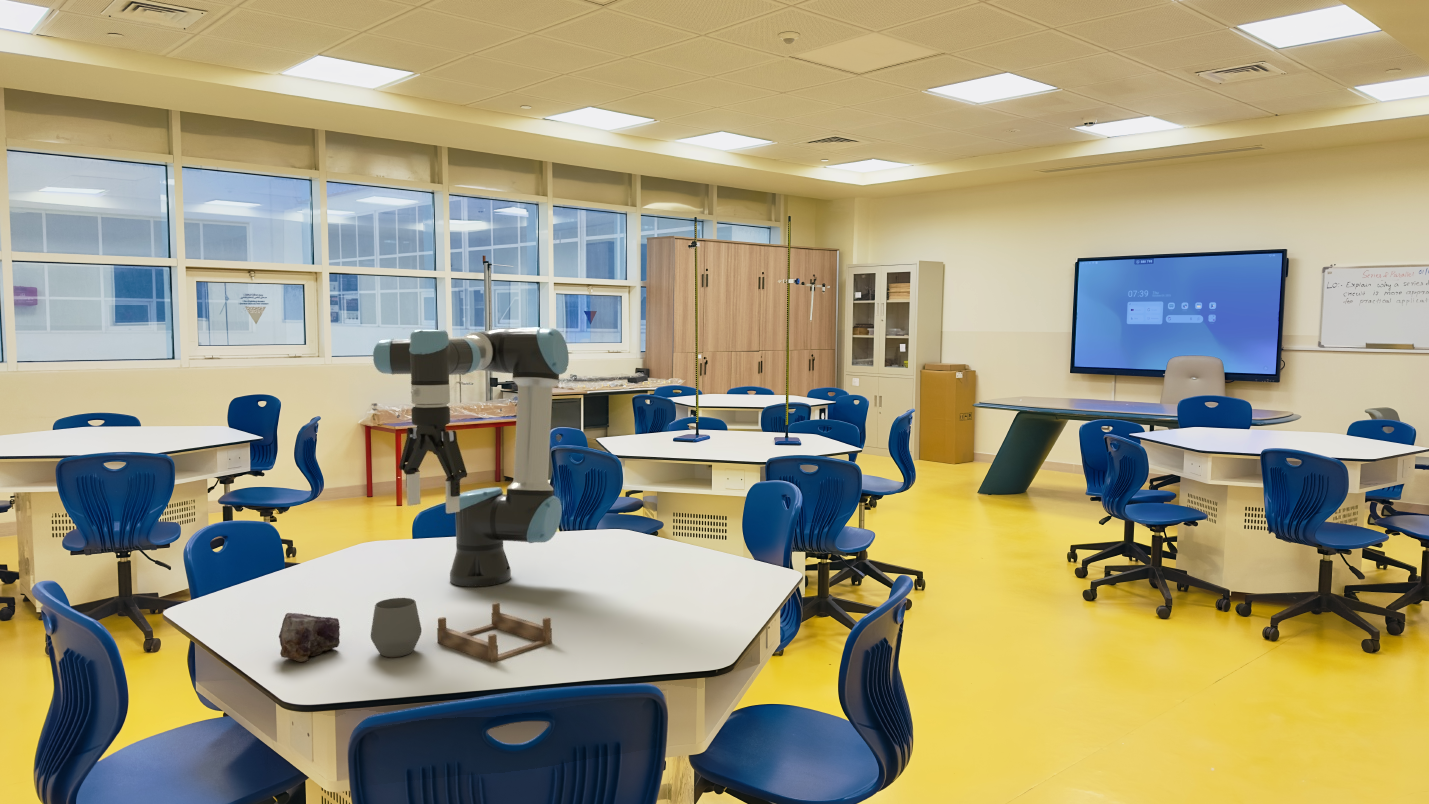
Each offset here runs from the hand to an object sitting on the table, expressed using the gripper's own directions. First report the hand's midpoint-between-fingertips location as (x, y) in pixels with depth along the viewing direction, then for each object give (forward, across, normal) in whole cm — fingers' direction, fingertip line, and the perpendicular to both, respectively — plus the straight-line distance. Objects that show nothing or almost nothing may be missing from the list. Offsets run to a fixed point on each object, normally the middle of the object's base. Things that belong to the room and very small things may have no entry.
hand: (432, 508), depth 191 cm
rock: (+27, -11, -22) cm, 37 cm away
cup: (+27, +2, -11) cm, 29 cm away
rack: (+27, +13, +5) cm, 30 cm away
